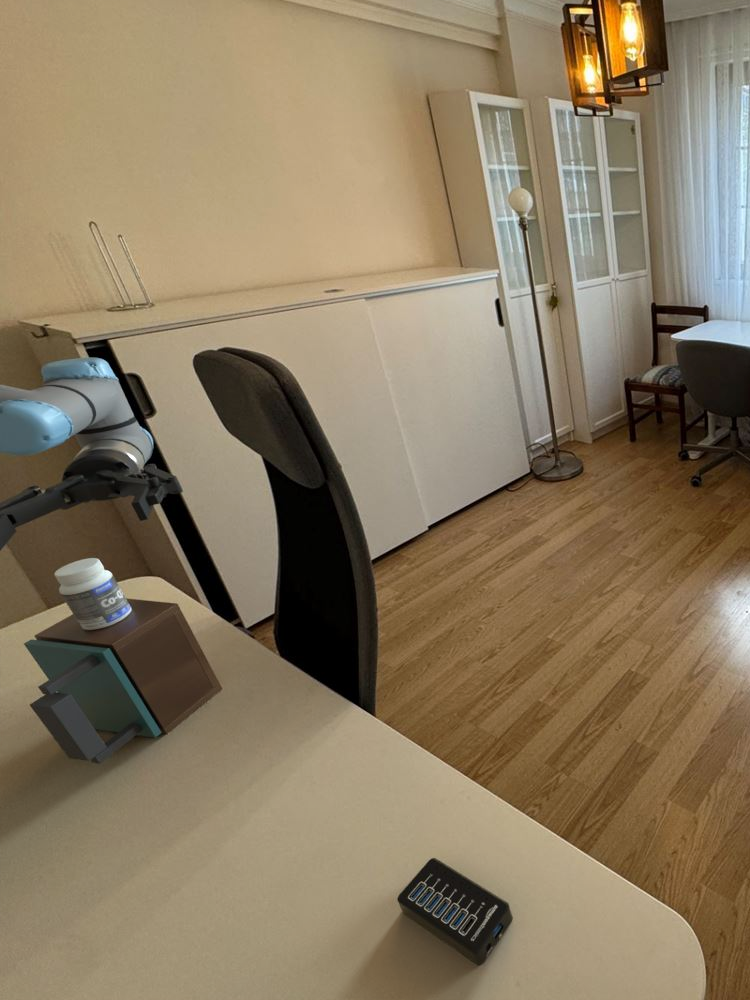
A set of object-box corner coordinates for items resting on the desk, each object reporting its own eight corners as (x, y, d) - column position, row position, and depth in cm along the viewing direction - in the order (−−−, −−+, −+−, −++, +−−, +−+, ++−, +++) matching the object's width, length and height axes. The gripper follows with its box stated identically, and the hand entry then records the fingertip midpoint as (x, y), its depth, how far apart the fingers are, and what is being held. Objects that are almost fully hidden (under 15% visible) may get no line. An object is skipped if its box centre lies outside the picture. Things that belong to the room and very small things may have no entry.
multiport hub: (437, 868, 60) (432, 855, 59) (514, 917, 56) (510, 904, 55) (400, 911, 56) (394, 898, 55) (480, 967, 52) (475, 954, 51)
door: (26, 767, 71) (-43, 680, 64) (88, 722, 77) (31, 639, 70) (104, 779, 69) (41, 691, 63) (161, 732, 75) (109, 648, 69)
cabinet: (94, 724, 77) (33, 635, 71) (155, 680, 85) (105, 596, 78) (167, 734, 76) (111, 644, 69) (222, 688, 83) (177, 603, 76)
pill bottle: (121, 625, 72) (89, 572, 69) (73, 635, 71) (39, 581, 67) (140, 603, 76) (111, 552, 73) (95, 612, 75) (64, 560, 71)
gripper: (217, 471, 95) (205, 522, 79) (-1, 515, 82) (-67, 587, 66) (199, 430, 92) (183, 475, 76) (-30, 470, 79) (-107, 534, 63)
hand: (67, 527), depth 71 cm, fingers open, 13 cm apart
